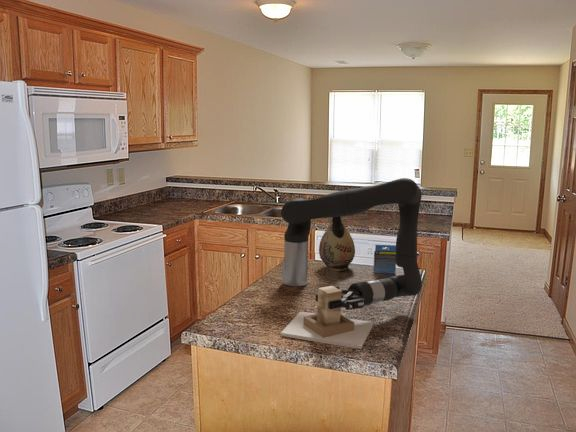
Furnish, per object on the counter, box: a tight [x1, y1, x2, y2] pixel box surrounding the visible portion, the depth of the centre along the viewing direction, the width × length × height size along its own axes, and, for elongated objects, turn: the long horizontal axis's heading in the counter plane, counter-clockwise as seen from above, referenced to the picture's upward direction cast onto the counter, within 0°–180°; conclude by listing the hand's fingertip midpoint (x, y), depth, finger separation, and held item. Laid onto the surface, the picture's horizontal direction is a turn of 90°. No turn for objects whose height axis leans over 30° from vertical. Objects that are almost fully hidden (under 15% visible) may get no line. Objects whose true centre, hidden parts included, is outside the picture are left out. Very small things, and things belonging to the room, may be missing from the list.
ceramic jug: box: [318, 216, 356, 272], centre depth 214 cm, size 17×15×30 cm
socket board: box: [280, 311, 374, 350], centre depth 153 cm, size 24×18×4 cm
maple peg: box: [316, 285, 342, 327], centre depth 152 cm, size 5×5×12 cm
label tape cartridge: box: [372, 244, 397, 275], centre depth 212 cm, size 9×4×12 cm, turn 85°
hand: (322, 301), depth 150 cm, fingers open, 6 cm apart
